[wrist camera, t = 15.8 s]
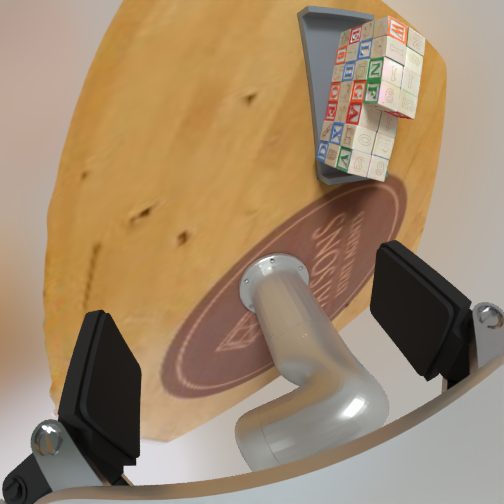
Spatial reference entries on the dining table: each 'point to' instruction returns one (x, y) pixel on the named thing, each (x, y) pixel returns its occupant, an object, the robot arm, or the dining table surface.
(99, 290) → the dining table surface
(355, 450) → the robot arm
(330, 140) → the stack of blocks
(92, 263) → the dining table surface
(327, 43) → the board
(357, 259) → the dining table surface
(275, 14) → the dining table surface
